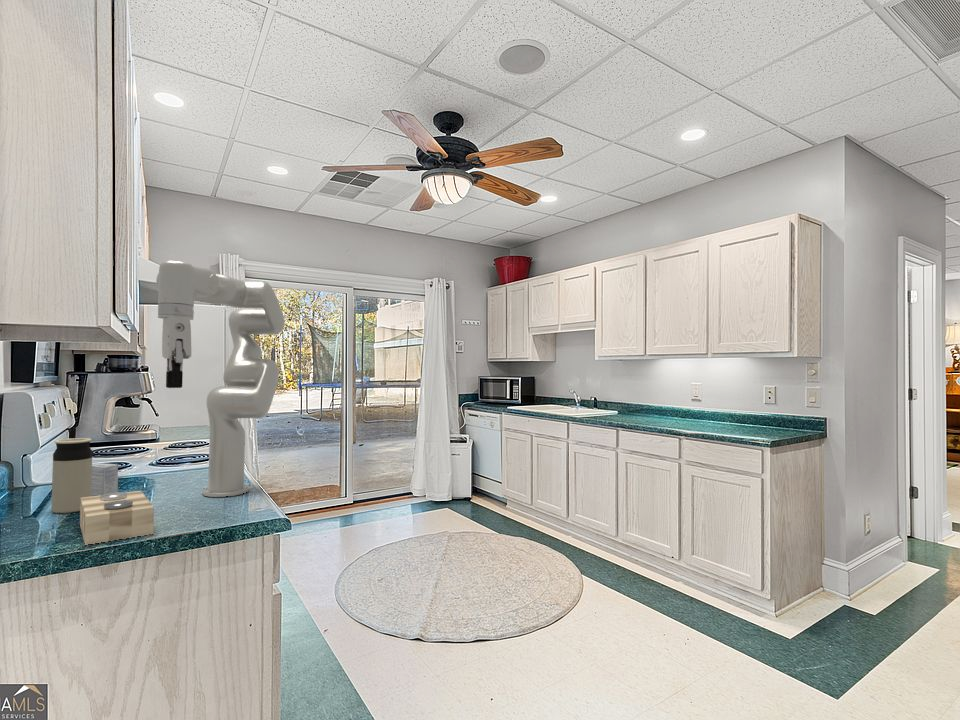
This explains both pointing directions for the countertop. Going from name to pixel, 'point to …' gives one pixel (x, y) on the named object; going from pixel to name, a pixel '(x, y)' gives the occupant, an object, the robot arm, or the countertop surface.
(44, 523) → the countertop surface
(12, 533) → the countertop surface
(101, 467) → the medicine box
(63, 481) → the travel mug
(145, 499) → the oak block
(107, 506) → the grey piece
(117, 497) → the steel peg
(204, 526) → the countertop surface
